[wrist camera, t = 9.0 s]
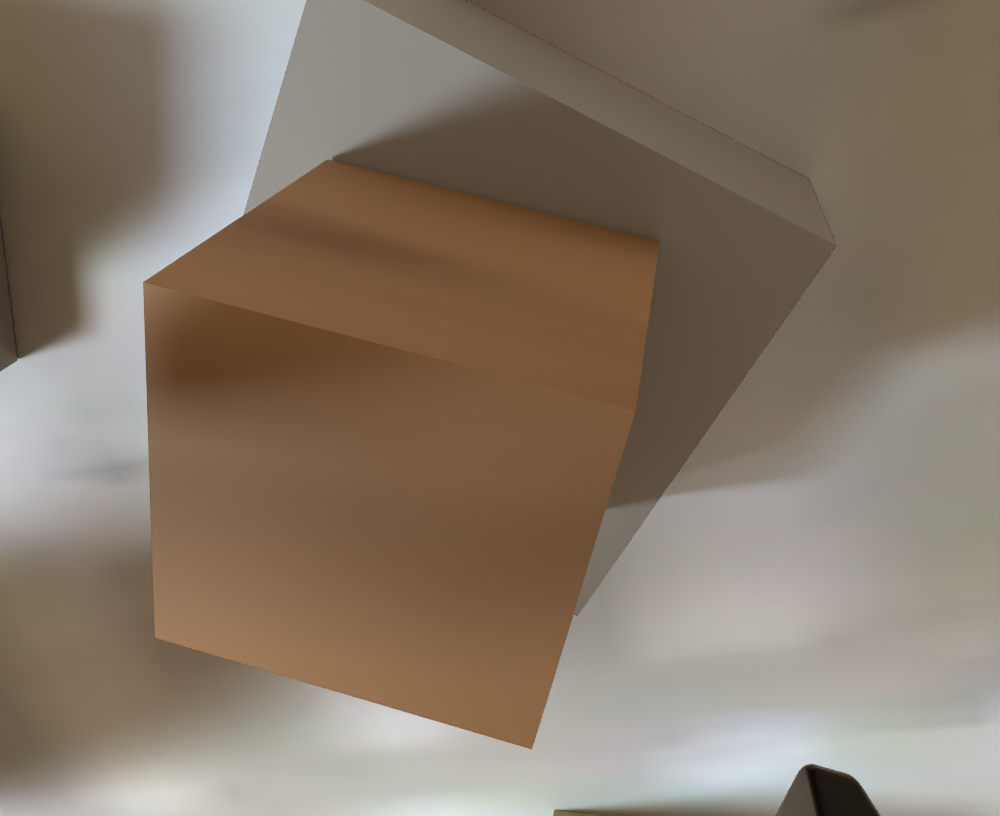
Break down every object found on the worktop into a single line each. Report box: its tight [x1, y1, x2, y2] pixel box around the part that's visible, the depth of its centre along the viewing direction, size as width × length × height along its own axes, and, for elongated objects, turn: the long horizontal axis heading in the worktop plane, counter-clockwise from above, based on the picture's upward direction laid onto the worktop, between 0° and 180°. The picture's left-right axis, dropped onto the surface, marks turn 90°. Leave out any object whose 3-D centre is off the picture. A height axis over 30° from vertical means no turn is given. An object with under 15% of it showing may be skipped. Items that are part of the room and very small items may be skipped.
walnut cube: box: [143, 159, 660, 749], centre depth 12 cm, size 5×5×5 cm
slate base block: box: [244, 0, 837, 616], centre depth 16 cm, size 8×8×4 cm
